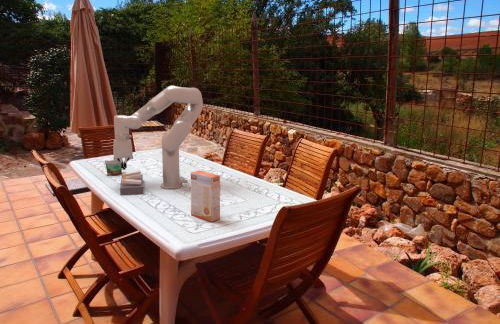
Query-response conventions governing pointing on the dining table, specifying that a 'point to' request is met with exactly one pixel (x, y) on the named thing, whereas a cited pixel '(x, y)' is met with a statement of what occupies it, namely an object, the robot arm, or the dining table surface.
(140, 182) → the rocker near
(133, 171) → the rocker far
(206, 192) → the cracker box
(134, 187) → the grey switch panel
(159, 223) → the dining table surface
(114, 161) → the food container
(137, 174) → the rocker middle
